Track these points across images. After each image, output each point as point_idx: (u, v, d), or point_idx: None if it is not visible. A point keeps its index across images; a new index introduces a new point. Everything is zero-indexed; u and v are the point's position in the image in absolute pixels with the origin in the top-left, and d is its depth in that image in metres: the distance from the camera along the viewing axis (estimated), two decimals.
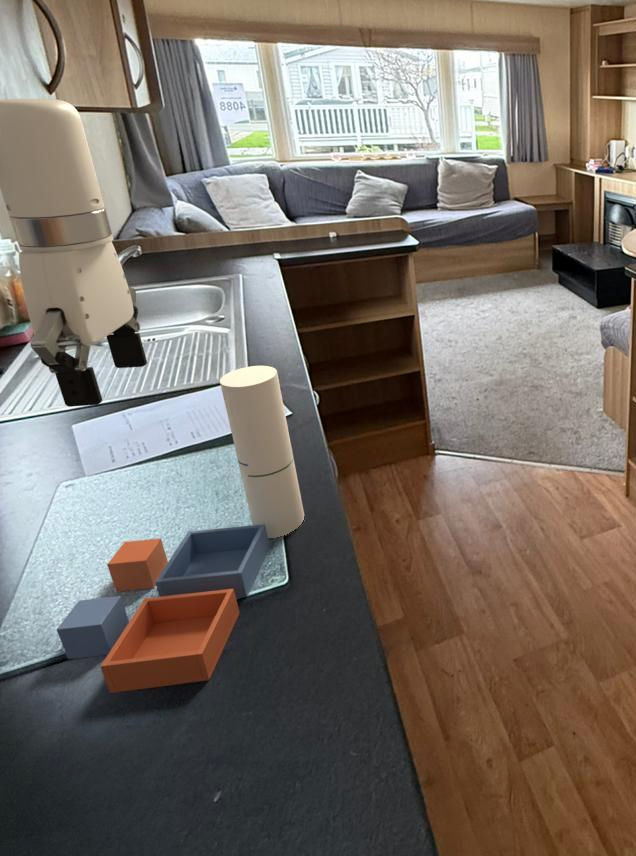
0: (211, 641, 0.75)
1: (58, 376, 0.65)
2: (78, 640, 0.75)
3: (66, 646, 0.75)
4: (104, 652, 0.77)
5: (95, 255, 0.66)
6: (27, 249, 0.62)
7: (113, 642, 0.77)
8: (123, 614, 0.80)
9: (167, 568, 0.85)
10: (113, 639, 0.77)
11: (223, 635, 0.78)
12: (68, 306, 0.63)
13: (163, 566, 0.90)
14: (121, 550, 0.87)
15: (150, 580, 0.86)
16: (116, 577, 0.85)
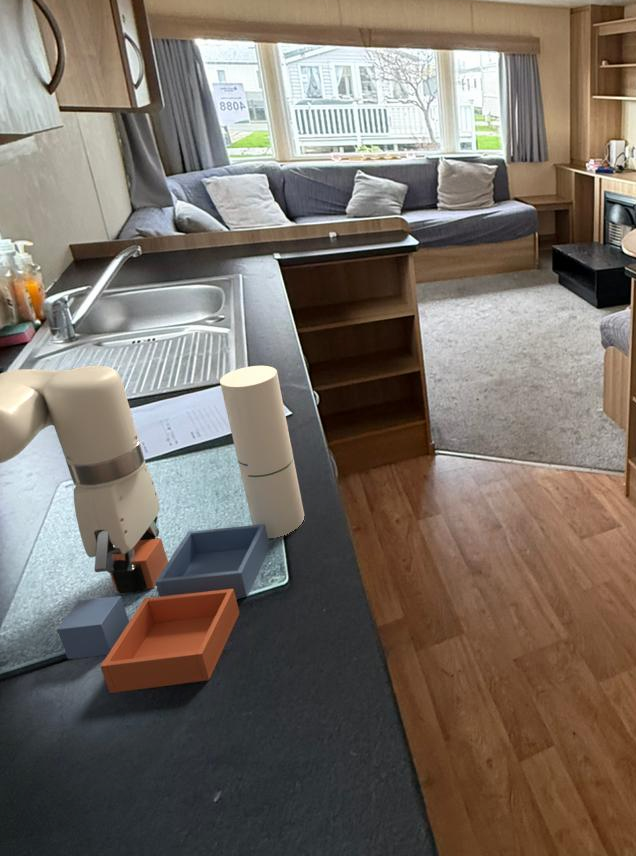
0: (211, 641, 0.75)
1: (114, 573, 0.84)
2: (78, 640, 0.75)
3: (66, 646, 0.75)
4: (104, 652, 0.77)
5: (131, 480, 0.83)
6: (80, 486, 0.79)
7: (113, 642, 0.77)
8: (123, 614, 0.80)
9: (167, 568, 0.85)
10: (113, 639, 0.77)
11: (223, 635, 0.78)
12: (111, 527, 0.80)
13: (163, 566, 0.90)
14: None
15: (150, 580, 0.86)
16: None
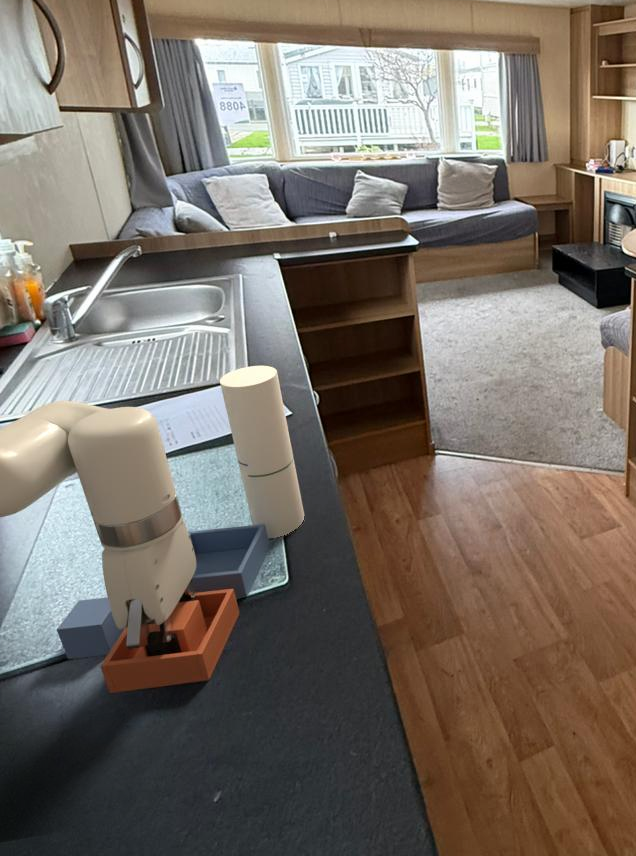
0: (211, 641, 0.75)
1: (146, 645, 0.73)
2: (78, 640, 0.75)
3: (66, 646, 0.75)
4: (104, 652, 0.77)
5: (167, 539, 0.71)
6: (109, 548, 0.68)
7: (113, 642, 0.77)
8: None
9: None
10: (113, 639, 0.77)
11: (223, 635, 0.78)
12: (145, 596, 0.69)
13: (201, 631, 0.78)
14: None
15: (188, 651, 0.75)
16: None
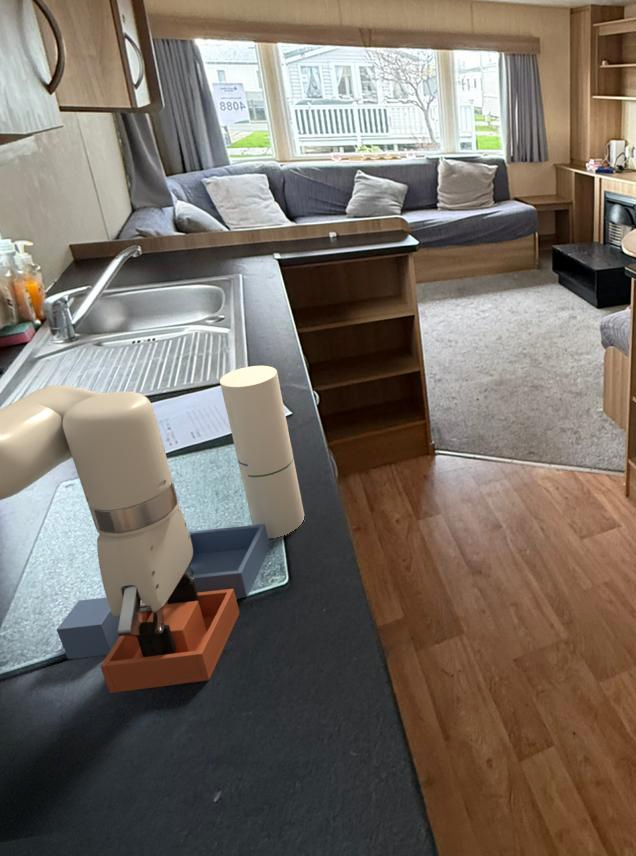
0: (211, 641, 0.75)
1: (138, 636, 0.71)
2: (78, 640, 0.75)
3: (66, 646, 0.75)
4: (104, 652, 0.77)
5: (163, 525, 0.71)
6: (104, 534, 0.67)
7: (113, 642, 0.77)
8: None
9: None
10: (113, 639, 0.77)
11: (223, 635, 0.78)
12: (141, 582, 0.68)
13: (201, 632, 0.78)
14: None
15: (187, 651, 0.75)
16: None
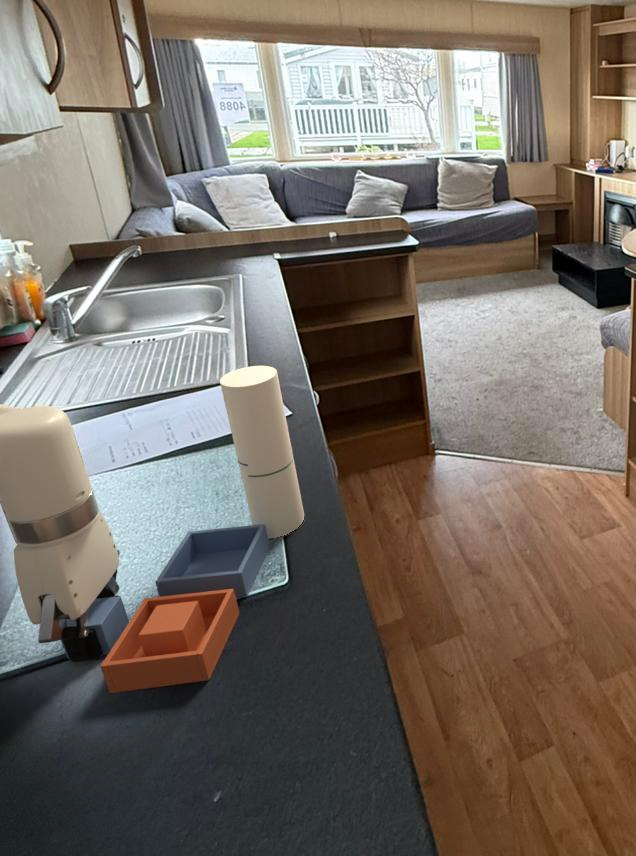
0: (211, 641, 0.75)
1: (64, 639, 0.74)
2: None
3: None
4: (104, 652, 0.77)
5: (82, 535, 0.73)
6: (21, 544, 0.69)
7: (113, 642, 0.77)
8: (123, 614, 0.80)
9: (167, 568, 0.85)
10: (113, 639, 0.77)
11: (223, 635, 0.78)
12: (58, 591, 0.70)
13: (201, 632, 0.78)
14: (153, 616, 0.76)
15: (187, 651, 0.75)
16: (148, 649, 0.74)
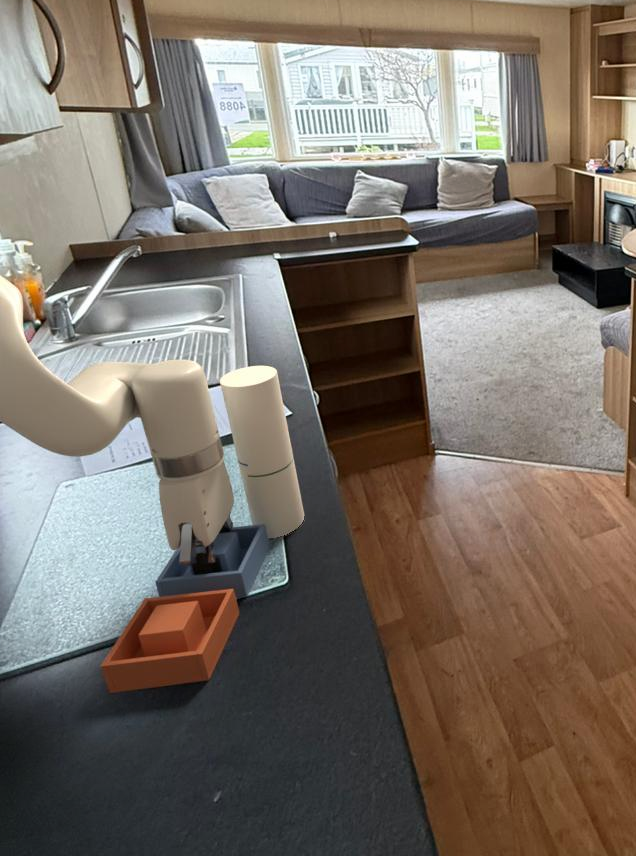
0: (211, 641, 0.75)
1: (193, 566, 0.85)
2: None
3: None
4: None
5: (212, 473, 0.83)
6: (165, 479, 0.80)
7: None
8: (238, 548, 0.90)
9: (167, 568, 0.85)
10: (232, 568, 0.88)
11: (223, 635, 0.78)
12: (195, 520, 0.80)
13: (201, 632, 0.78)
14: (153, 616, 0.76)
15: (187, 651, 0.75)
16: (148, 649, 0.74)
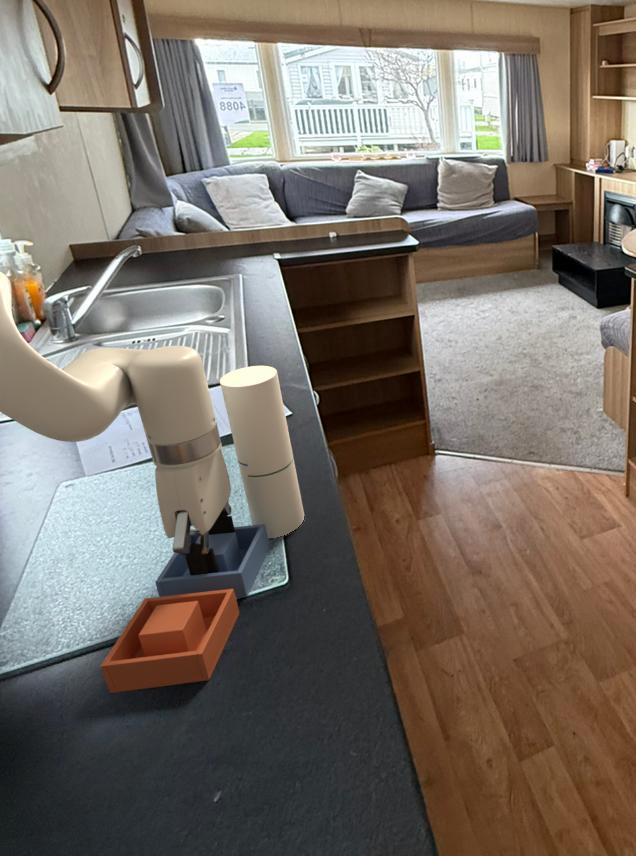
0: (211, 641, 0.75)
1: (187, 557, 0.83)
2: None
3: None
4: None
5: (209, 461, 0.82)
6: (161, 466, 0.79)
7: None
8: (237, 548, 0.90)
9: (167, 568, 0.85)
10: (231, 569, 0.88)
11: (223, 635, 0.78)
12: (191, 508, 0.80)
13: (201, 632, 0.78)
14: (153, 616, 0.76)
15: (187, 651, 0.75)
16: (148, 649, 0.74)
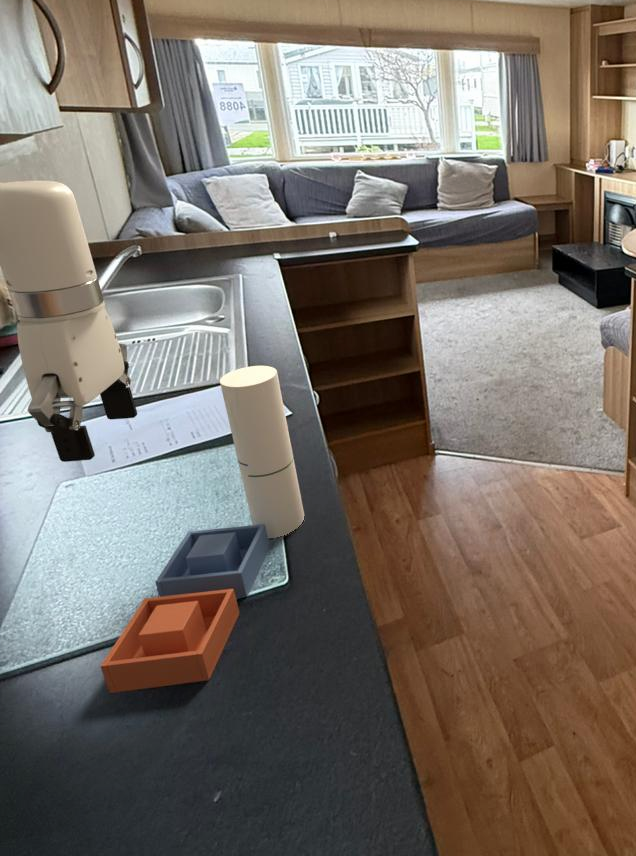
0: (211, 641, 0.75)
1: (53, 434, 0.70)
2: (204, 568, 0.86)
3: (193, 574, 0.86)
4: None
5: (87, 321, 0.71)
6: (25, 320, 0.67)
7: None
8: (237, 548, 0.90)
9: (167, 568, 0.85)
10: (231, 569, 0.88)
11: (223, 635, 0.78)
12: (62, 371, 0.68)
13: (201, 632, 0.78)
14: (153, 616, 0.76)
15: (187, 651, 0.75)
16: (148, 649, 0.74)
